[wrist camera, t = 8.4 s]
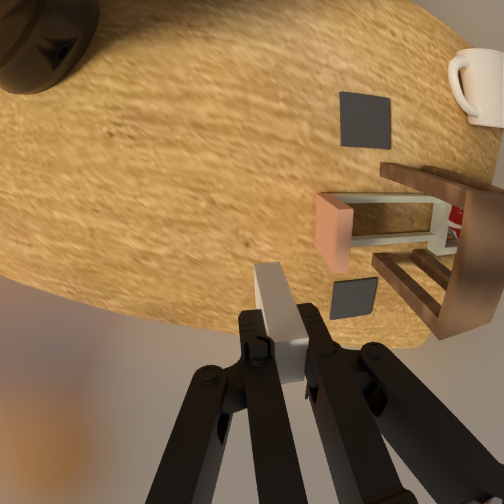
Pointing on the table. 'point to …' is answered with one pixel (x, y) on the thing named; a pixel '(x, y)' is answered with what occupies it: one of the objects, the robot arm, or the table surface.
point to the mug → (479, 85)
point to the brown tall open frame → (467, 255)
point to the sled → (341, 240)
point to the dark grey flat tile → (352, 298)
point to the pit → (364, 120)
